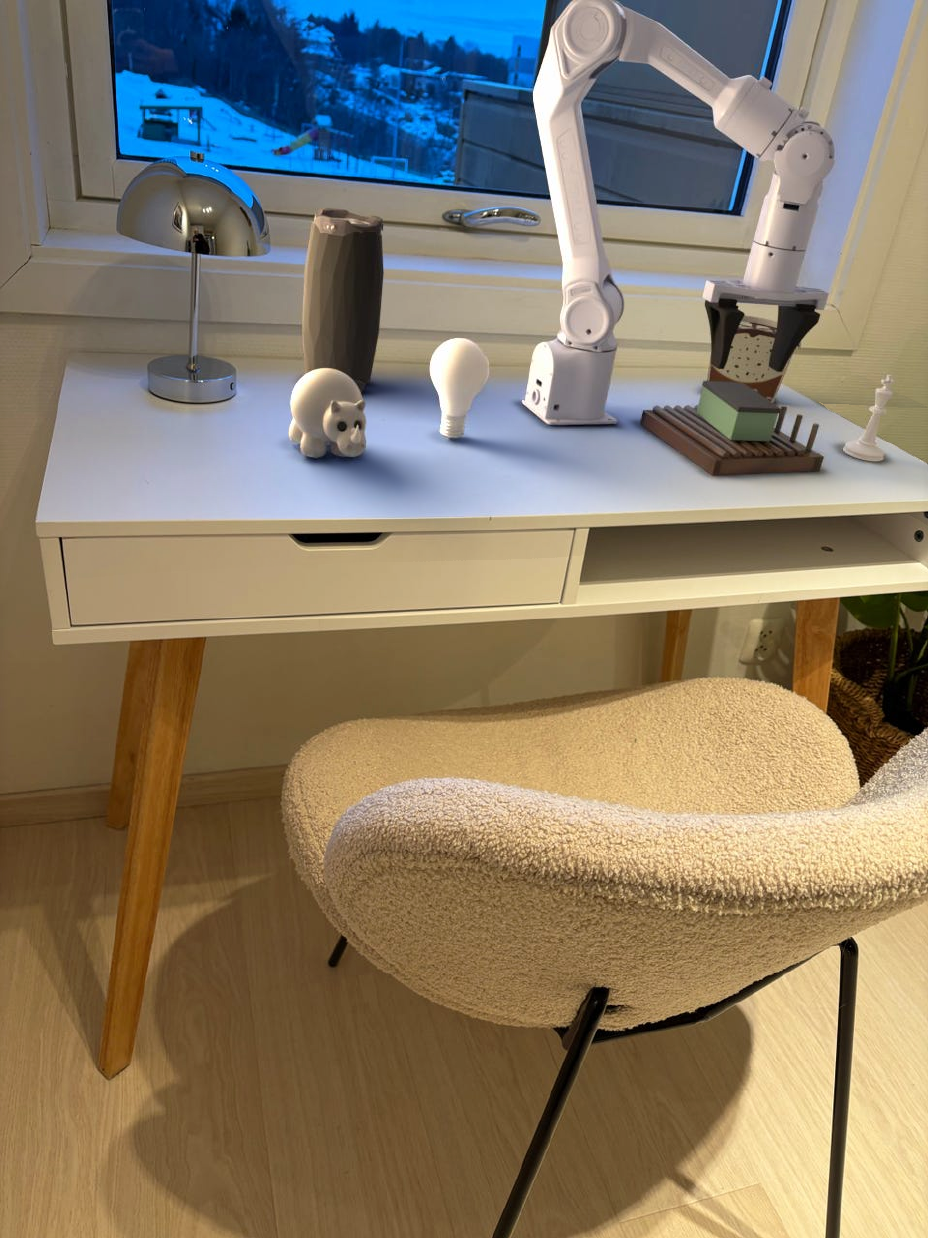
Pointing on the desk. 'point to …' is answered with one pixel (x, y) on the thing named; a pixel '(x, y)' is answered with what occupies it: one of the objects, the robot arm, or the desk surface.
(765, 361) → the food container
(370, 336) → the brown vase
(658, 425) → the dish rack
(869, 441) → the chess piece
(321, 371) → the toy rhinoceros
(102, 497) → the desk surface
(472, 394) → the lightbulb
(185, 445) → the desk surface
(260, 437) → the desk surface
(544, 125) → the robot arm
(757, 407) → the box
